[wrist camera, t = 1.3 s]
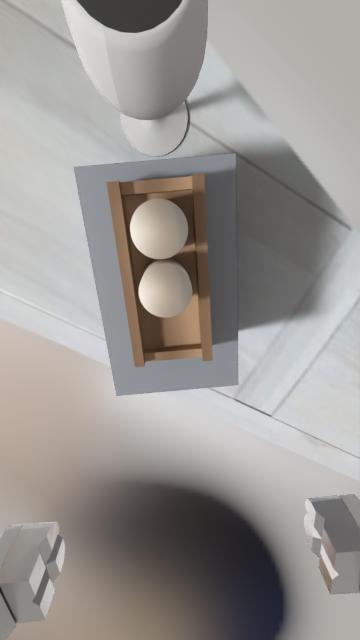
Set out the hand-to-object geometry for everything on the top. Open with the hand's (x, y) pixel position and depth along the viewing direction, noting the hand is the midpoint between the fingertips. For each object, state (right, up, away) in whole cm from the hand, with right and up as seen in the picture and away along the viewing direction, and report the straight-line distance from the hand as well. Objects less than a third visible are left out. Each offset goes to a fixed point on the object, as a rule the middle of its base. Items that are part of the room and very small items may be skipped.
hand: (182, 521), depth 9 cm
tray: (-1, +10, +15) cm, 18 cm away
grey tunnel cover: (-2, +13, +27) cm, 30 cm away
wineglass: (-3, +28, +21) cm, 36 cm away
